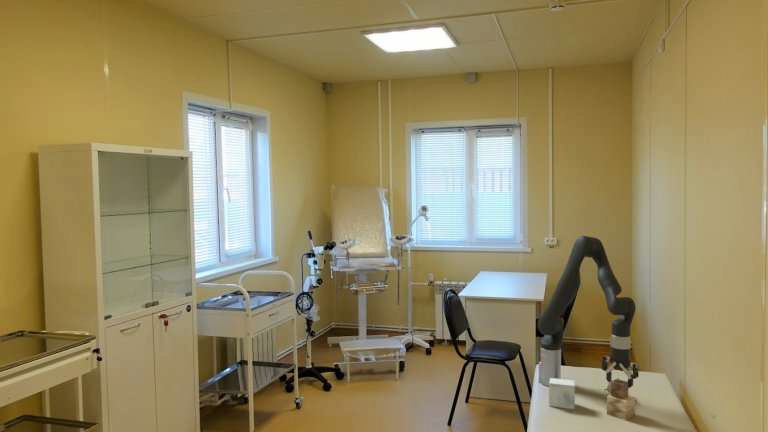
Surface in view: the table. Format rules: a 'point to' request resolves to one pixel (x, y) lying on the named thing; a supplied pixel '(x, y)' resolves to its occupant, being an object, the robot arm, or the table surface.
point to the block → (619, 389)
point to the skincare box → (562, 393)
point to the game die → (609, 387)
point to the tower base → (620, 413)
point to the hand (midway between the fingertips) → (619, 384)
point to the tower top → (621, 402)
